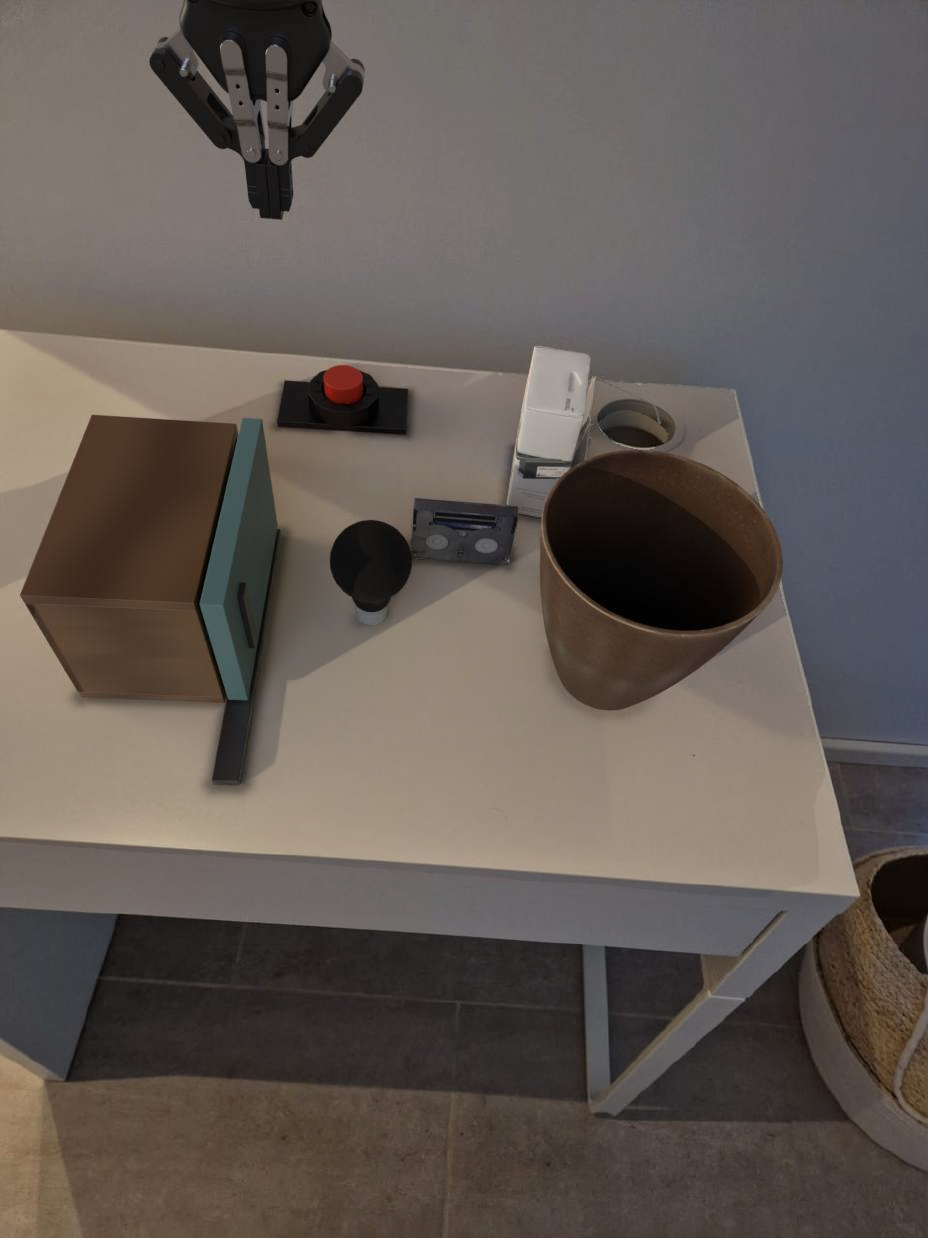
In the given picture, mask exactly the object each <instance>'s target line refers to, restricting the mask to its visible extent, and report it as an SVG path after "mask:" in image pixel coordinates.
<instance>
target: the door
mask: <svg viewBox="0 0 928 1238" xmlns="http://www.w3.org/2000/svg"><path fill="white" fill-rule="evenodd" d="M274 497H275V496H274V489H273V484H272V476H271V471H270V463H269V456H268V449H267V442H266V436H265V429H264V422H263V419H262V418H251V417H250V418H249V417H242V419H241V423H240V428H239V430H238V440H237V444H236V448H235V453H234V457H233V461H232V466H231V470H230V474H229V479H228V483H227V487H226V492H225V496H224V501H223V505H222V509H221V514H220V518H219V522H218V527H217V531H216V535H215V540H214V544H213V548H212V553H211V557H210V561H209V566H208V570H207V574H206V579H205V583H204V587H203V592H202V596H201V600H200V607H201V611H202V614H203V617H204V621H205V624H206V627H207V630H208V634H209V637H210V640H211V644H212V647H213V650H214V654H215V657H216V660H217V664H218V667H219V670H220V674H221V677H222V680H223V684H224V687H225V690H226V698H227V697H228V699H229V700H248V698H249V692H250V686H251V680H252V674H253V669H254V663H255V657H256V651H257V645H258V639H259V633H260V628H261V622H262V616H263V610H264V604H265V598H266V592H267V587H268V581H269V575H270V569H271V563H272V557H273V551H274V546H275V540H276V534H277V529H279V528H278V527H279V525H278V516H277V509H276V504H275V498H274Z"/></svg>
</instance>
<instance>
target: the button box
mask: <svg viewBox="0 0 928 1238" xmlns="http://www.w3.org/2000/svg"><path fill="white" fill-rule="evenodd" d="M327 370H328V369H325V370H321V371H319V372H318V373H317V374H316V375H315V376H313V378H311V379H310V380H309V381H300V380H286V379H285V380H284V382H283V387H282V392H281V398H280V402H279V408H278V413H277V414H278V415H277V418H276V426H277V427H278V428H291V429H293V428H294V429H308V430H320V431H321V430H322V431H323V430H324V431H339V432H355V433H369V434H388V435H399V436H400V435H403V436H406V435H407V423H408V405H409V404H408V401H409V388H404V387H387V386H379V384H378V382H377V381H376V379H374V377H373V376H372V375H371V374H369V373H367V372H365V371H362V370H361V369H358V370H359V371H360V372H361V373H362V376H363V395H362V397H361V399H360V400H358V401H356V402H353V403H350V404H342V403H334V402H332V401H330V400H329V399H328V398H327V397H326V395H325V392H324V374H325V372H326V371H327Z"/></svg>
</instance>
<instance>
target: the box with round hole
mask: <svg viewBox="0 0 928 1238" xmlns="http://www.w3.org/2000/svg"><path fill="white" fill-rule="evenodd" d="M590 381H591V382H590V384H589V385H588V388H587V400H586V405H585V413H584V419H583V423H582V426H581V430H582V429H584V428H585V427H586V428H585V429H584V434H583V436H582V437H581V439H580V442H579V444H578V446H577V447H576V450H575V454H574V457H573V461H572V466H571V468H572V467H574V466H576V465H577V464H579V463H581V462H583V461H585V460H587V456H588V452H589V451H588V450H589V448H590V447H591V445H592V443H593V438H592V437H591V436H590V432H591V429H592V428H593V427H594V426H595V423H594V422H592V416H591V414H592V411H593V407H594V401H595V395H596V394H595V393H596V385H597V381H599V382H602V383H604V384H606V385H609V386H610V387H613V388H615V389H618V390H619V391H622V392H624V393H626V394H629V395H631V396H633V397H636V398H637V399H639V400H641V401H643V402H645V403H647V404H649V405H651V406H652V407H653V408H654V410H655V413H656V419H657V423H658V425H661V424H662V421H661V419H660V415H659V411H658V408H657V407H656V405H655V404H654V403H653V402H651V401H649V400H647V399H645V398H643V397H640V396H638V395H635V394H633V393H632V392H630V391H628V390H625V389H623V388H621V387H619V386H618V385H615V384H613V383H610V382H609V381H606V380H605V379H603V378H600V377H598V376H596V375H592V377H591V380H590ZM588 421H589V422H588Z"/></svg>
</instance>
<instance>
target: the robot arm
mask: <svg viewBox="0 0 928 1238" xmlns="http://www.w3.org/2000/svg"><path fill="white" fill-rule="evenodd" d="M178 20H179V21H178V22H179V23H178V24H179V28H178V29H177V30H175V31H174V32H173V33H172V34H171V35H170V36H169V37H168V36H163V37H160V38H159V40H158V42H157V43H156V45H155V47H154V48H153V51H152V53H151V55H150V57H149V60H148V61H149V63H148V64H149V67H150V69H151V70H152V72H153V73H154V74H155V76H156V77H157V78H158V79H159V81H161V82H162V84H163V85H164V86H165V87H166V89H167V90H168V91H169V92H170V93H171V95H172V96H173V97H174V98H175V99H176V101H177V102H178V103H179V104H180V106H181V108H183V110H185V111H186V113H187V114H188V115H189V116H190V118H191V119H192V120H193V121H194V122H195V124H196V125H197V126H198V127H199V128H200V130H201V131H202V132H203V133H204V135H205V136H206V137H207V138H208V139H209V141H210V142H211V143H212V144H213V146H215V147H216V148H217V149H219V150H226V149H229V150H231V151H233V152H235V153H237V154H238V155H239V156H240V157H241V158H242V160H243V163H244V171H245V180H246V181H245V182H246V188H247V197H248V199H247V200H248V202H249V204H250V206H251V208H252V209H253V210H255V209H257V210H258V212H259V218H260V219H264V220H265V219H266V220H279V221H282V220H283V218H284V214H285V213H284V212H287V213H289V212H290V210H291V208H292V205H293V199H294V181H293V179H294V178H293V166H292V161H293V160H294V159H296V158H299V157H303V158H305V159H310V158H312V157H314V156H315V155H316V154H317V152H318V151H319V150H320V148H321V147H322V146H323V144H324V142H325V141H326V140H327V139H328V137H329V136H330V135H331V134H332V133H333V131H334V129H335V128H336V127H337V126H338V124H339V123H340V122H341V121H342V119H343V118H344V116H345V115H346V114H347V112H348V111H349V110H350V109H351V107H352V106H353V105H354V103H355V102H356V101H357V100H358V98H359V97H360V95H362V92H363V88H364V82H365V72H366V70H365V66H364V64H363V63H362V61H361V60H359V59H357V58H349V56H348V55H347V54H345V52H343V50H341V48H339V47H338V45H336V43H334V42H333V41H332V37H333V34H332V33H333V32H332V27H331V23H330V21H329V19H328V18H327V14H326V12H325V10H324V5H323V0H183V3H182V6H181V9H180V12H179V16H178ZM198 58H199V59H198ZM199 60H200V61H201V62H202V63H203V65H204V66H205V68H206V69H207V71H208V72H209V73H210V74H211V76H212V77H213V79H214V80H215V81H216V82H217V84H218V85H219V87H220V88H221V89H222V90H223V91H224V92H225V93H227V94H228V96H229V101H230V102H229V103H230V108H231V111H230V110H229V109H228V107H227V106H226V104H225V103H224V102H223V101H222V99H220V97H219V95H217V94H216V92H215V91H214V90H213V89H212V87H211V85H209V83H208V82H207V81H206V79H205V78H204V76H202V75H201V73H200V72H199V71H198V70H199V65H200V63H199ZM322 63H323V64H324V67H325V70H324V73H323V76H322V86H323V89H324V93H323V94H322V95H321V97H320V98H319V100H318V101H317V102H316V104H315V105H314V106H313V108H312V109H311V110H310V112H309V113H308V115H306V118H305V119H304V120H303V122H302V123H301V124H299V125H295V126H293V108H294V101H296V100H297V99H298V98H299V97H300V96H301V95H302V93H303V92H304V90H305V89H306V88H307V86H308V84H309V83H310V82H311V79H313V77H314V75H315V73H316V72H317V70H318V69H319V67H320V66H321V65H322ZM262 101H264V102H266V122H267V129H268V134H267V135H268V148H266V138H267V136H266V131H265V130H266V129H265V124H264V118H263V117H264V116H263V111H262Z"/></svg>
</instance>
